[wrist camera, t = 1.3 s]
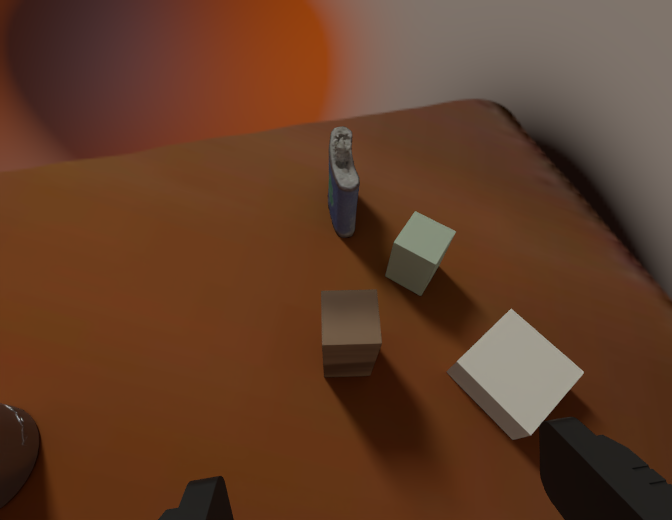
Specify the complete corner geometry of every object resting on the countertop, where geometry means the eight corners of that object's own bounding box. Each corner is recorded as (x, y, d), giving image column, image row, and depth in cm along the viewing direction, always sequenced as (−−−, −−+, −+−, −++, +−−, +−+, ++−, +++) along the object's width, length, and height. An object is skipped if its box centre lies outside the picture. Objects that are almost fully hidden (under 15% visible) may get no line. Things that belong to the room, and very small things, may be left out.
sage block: (420, 296, 42) (436, 264, 36) (384, 276, 44) (393, 242, 37) (438, 266, 44) (456, 231, 38) (403, 247, 45) (415, 211, 39)
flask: (356, 237, 46) (362, 175, 37) (332, 239, 46) (331, 177, 37) (347, 179, 51) (351, 110, 41) (325, 180, 50) (323, 111, 41)
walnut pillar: (370, 375, 38) (381, 343, 29) (324, 377, 38) (322, 345, 29) (366, 331, 40) (376, 289, 32) (323, 333, 40) (321, 291, 31)
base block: (511, 440, 35) (530, 435, 32) (445, 372, 38) (456, 361, 35) (561, 382, 38) (584, 372, 35) (496, 323, 41) (511, 308, 38)
